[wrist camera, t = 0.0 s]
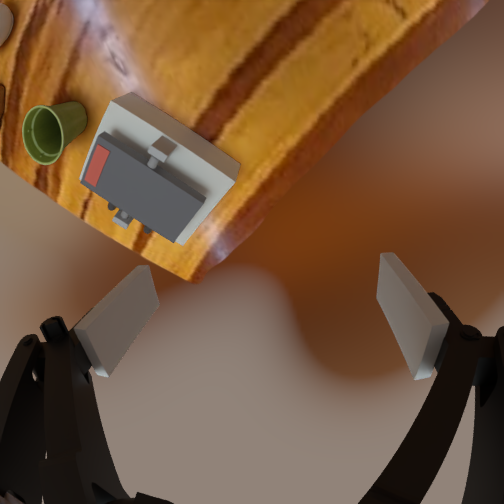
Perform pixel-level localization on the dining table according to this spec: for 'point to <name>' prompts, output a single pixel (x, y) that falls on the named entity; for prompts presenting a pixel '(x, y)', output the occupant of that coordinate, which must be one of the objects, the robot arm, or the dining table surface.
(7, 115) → the dining table surface
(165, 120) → the switch box
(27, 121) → the plant pot
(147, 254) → the dining table surface
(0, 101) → the coffee package
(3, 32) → the lidded bowl
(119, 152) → the rocker
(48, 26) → the dining table surface
